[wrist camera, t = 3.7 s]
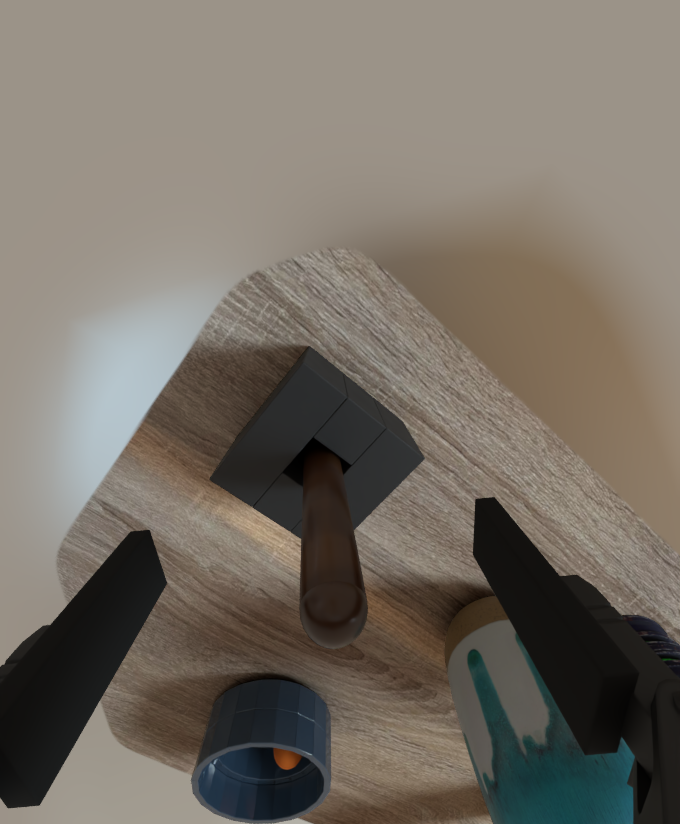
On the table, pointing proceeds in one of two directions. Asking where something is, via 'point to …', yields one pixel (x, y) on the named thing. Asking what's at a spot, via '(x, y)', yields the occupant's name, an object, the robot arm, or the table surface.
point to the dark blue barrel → (657, 640)
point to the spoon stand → (333, 427)
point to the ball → (286, 758)
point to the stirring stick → (329, 554)
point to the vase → (525, 732)
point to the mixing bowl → (264, 753)
